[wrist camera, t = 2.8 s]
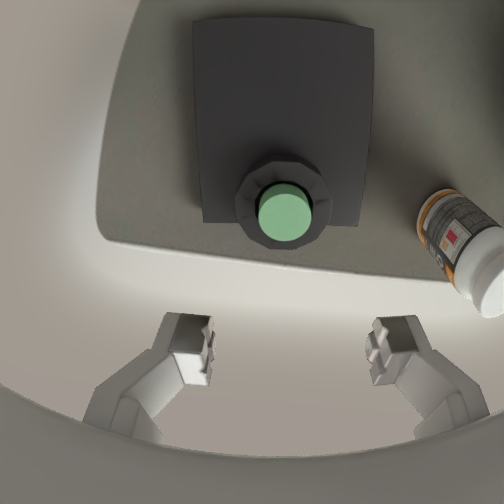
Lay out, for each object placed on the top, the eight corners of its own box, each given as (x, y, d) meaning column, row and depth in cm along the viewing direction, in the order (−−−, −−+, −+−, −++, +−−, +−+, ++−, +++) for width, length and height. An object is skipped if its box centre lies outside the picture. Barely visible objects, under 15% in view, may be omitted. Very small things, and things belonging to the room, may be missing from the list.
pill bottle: (403, 237, 21) (457, 322, 13) (430, 176, 18) (509, 242, 10) (448, 251, 22) (501, 327, 14) (474, 198, 19) (544, 262, 10)
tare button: (259, 182, 17) (258, 193, 15) (309, 183, 17) (313, 194, 15) (259, 226, 18) (258, 240, 17) (306, 228, 18) (309, 242, 17)
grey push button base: (198, 26, 14) (184, 15, 11) (365, 32, 13) (384, 23, 10) (208, 223, 22) (199, 247, 19) (350, 227, 21) (361, 251, 18)
